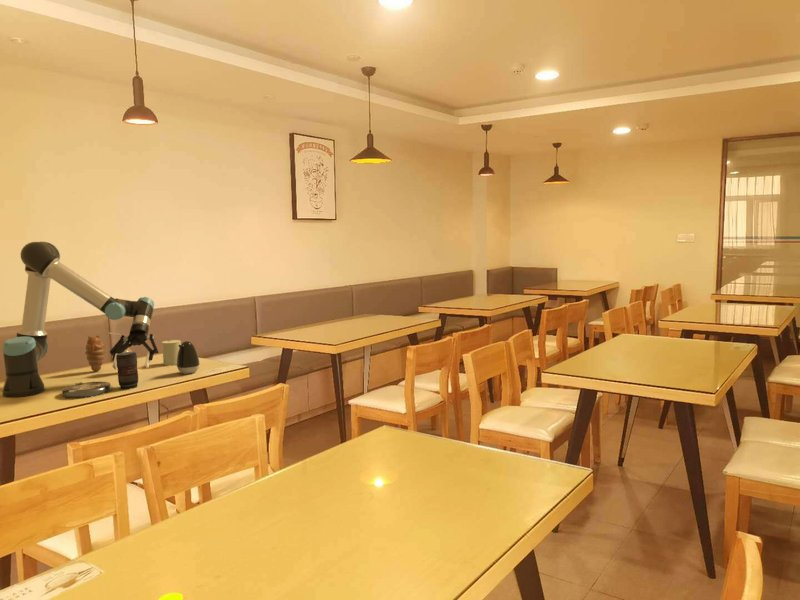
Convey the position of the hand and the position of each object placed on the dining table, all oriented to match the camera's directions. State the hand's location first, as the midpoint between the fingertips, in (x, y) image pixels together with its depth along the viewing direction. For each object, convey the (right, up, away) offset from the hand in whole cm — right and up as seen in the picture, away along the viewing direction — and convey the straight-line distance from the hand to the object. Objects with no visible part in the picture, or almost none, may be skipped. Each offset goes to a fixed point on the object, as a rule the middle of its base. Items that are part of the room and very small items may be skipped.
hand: (130, 367), depth 256 cm
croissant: (-32, -6, +35) cm, 48 cm away
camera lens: (-1, -9, 0) cm, 9 cm away
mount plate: (-15, -10, -7) cm, 19 cm away
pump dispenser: (+16, -6, +24) cm, 30 cm away
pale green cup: (0, -4, +47) cm, 48 cm away
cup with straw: (-17, -6, +30) cm, 35 cm away
